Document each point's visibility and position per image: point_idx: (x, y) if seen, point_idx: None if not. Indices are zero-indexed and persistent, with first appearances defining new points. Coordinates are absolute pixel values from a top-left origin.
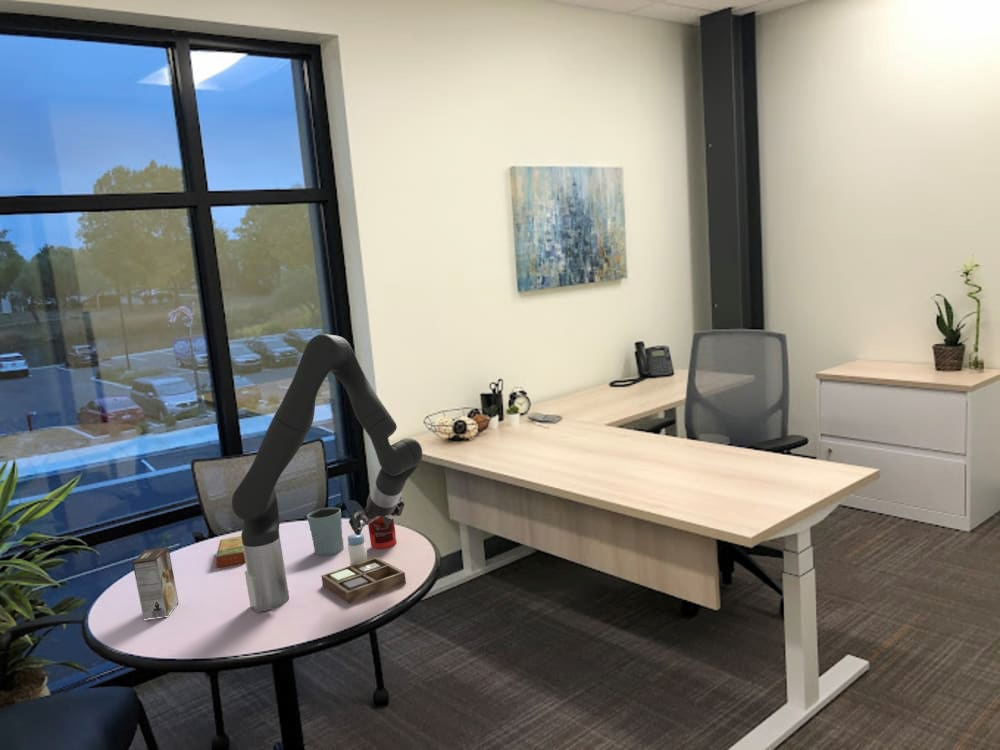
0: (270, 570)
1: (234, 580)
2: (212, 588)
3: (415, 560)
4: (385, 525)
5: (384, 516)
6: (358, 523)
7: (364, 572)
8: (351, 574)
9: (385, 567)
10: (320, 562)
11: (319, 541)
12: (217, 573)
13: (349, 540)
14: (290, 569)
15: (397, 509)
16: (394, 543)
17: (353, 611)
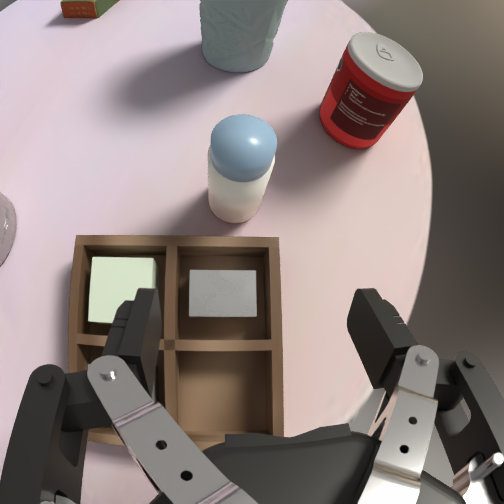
0: None
1: (36, 68)
2: (2, 80)
3: (378, 281)
4: (348, 319)
5: (376, 317)
6: (77, 484)
7: (191, 315)
8: None
9: (259, 350)
10: (182, 88)
11: (206, 35)
12: (49, 31)
13: (211, 148)
14: (117, 80)
15: (454, 441)
16: (372, 144)
17: (87, 463)
